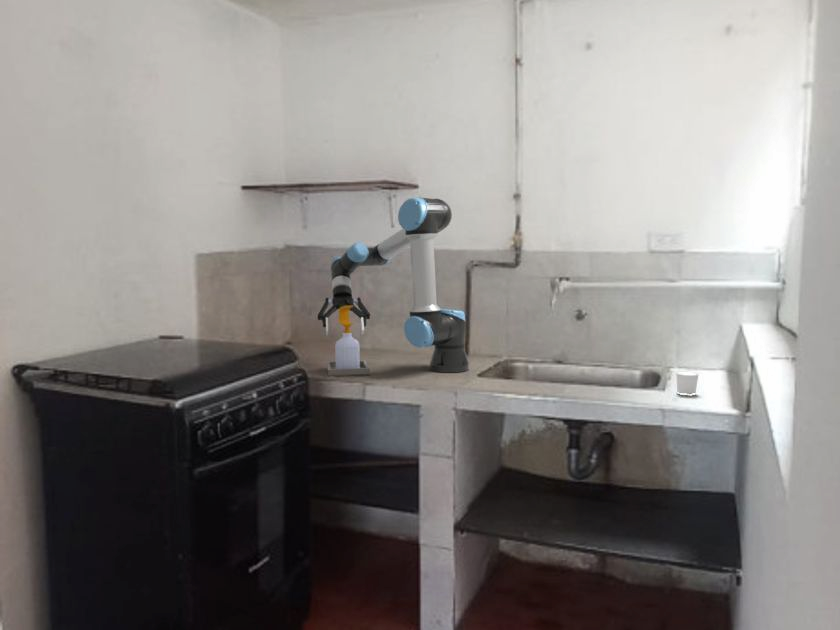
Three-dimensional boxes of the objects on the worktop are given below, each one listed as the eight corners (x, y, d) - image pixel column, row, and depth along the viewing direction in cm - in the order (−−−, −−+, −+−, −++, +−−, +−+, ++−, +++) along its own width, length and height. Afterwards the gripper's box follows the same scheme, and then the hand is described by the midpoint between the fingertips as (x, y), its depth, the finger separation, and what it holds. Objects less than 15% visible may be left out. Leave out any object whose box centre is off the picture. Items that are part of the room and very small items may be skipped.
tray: (365, 367, 277) (365, 360, 277) (369, 375, 262) (369, 368, 261) (326, 368, 275) (326, 361, 274) (328, 376, 259) (328, 369, 259)
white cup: (699, 397, 230) (700, 375, 229) (677, 396, 231) (678, 374, 230) (694, 392, 237) (696, 371, 236) (673, 391, 238) (674, 370, 237)
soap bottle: (341, 373, 262) (340, 307, 259) (331, 369, 270) (330, 304, 267) (363, 370, 266) (362, 305, 263) (353, 366, 274) (352, 303, 271)
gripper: (372, 295, 289) (376, 338, 277) (310, 296, 285) (312, 339, 272) (373, 283, 284) (378, 326, 271) (310, 284, 279) (312, 327, 266)
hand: (345, 333), depth 271 cm, fingers open, 13 cm apart
